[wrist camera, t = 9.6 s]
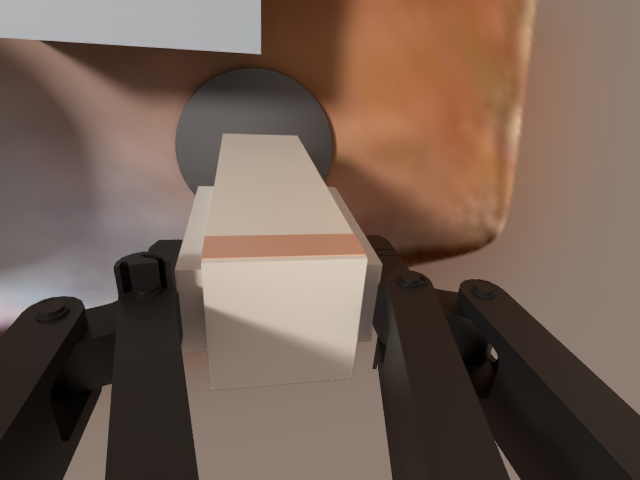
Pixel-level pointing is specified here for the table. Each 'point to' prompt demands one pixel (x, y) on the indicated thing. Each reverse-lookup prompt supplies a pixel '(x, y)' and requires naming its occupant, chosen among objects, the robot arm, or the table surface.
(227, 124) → the coaster
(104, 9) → the socket block
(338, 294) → the plug
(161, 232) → the table surface
